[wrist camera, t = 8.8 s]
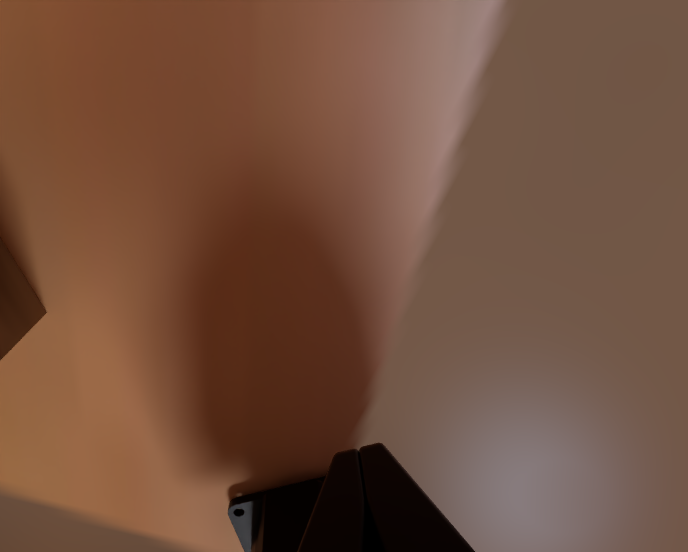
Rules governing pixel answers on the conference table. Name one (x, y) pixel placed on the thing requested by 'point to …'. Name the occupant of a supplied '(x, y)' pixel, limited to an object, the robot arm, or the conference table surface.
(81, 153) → the conference table surface
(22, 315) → the walnut block
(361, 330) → the conference table surface
